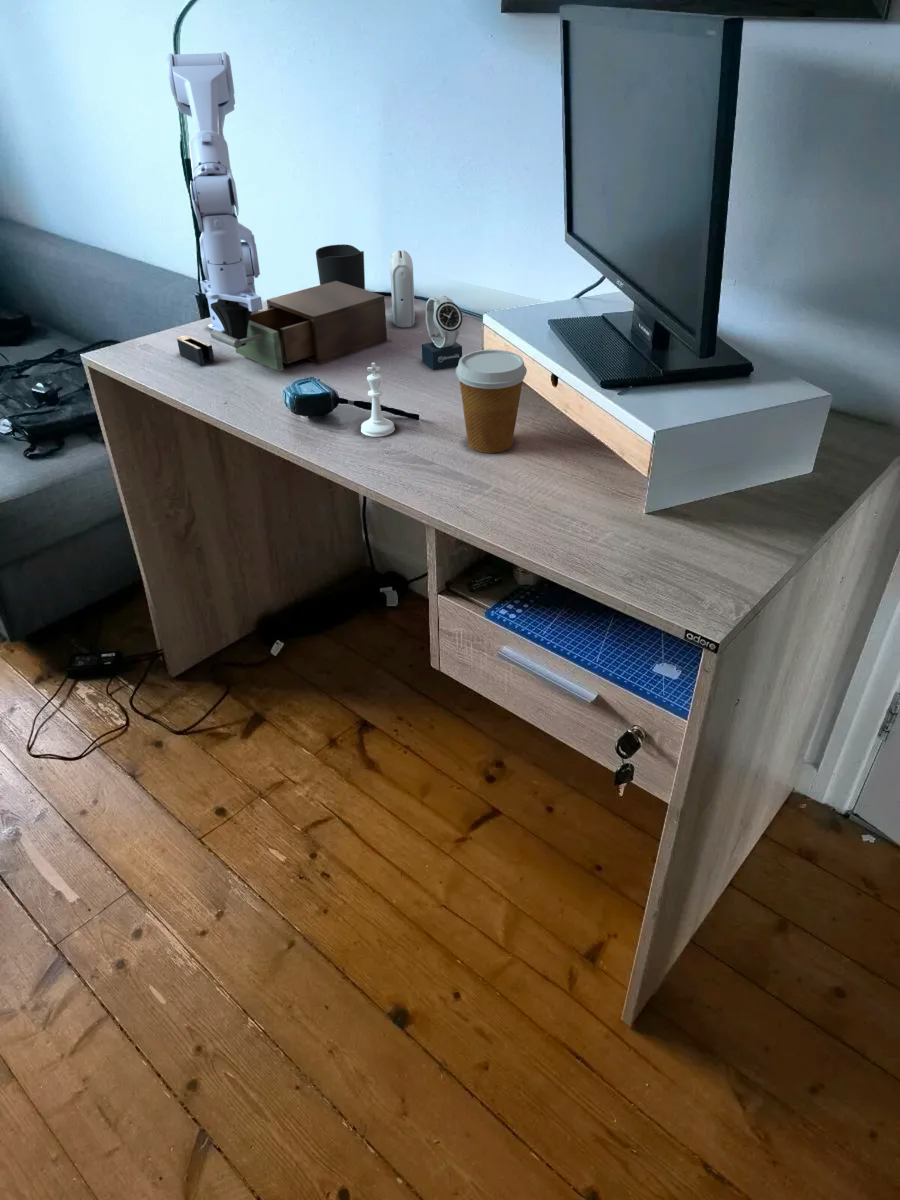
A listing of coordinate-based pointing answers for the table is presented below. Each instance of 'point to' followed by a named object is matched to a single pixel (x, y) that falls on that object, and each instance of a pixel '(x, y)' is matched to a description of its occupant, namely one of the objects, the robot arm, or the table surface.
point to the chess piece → (376, 409)
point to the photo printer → (402, 289)
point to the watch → (442, 333)
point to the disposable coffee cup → (490, 397)
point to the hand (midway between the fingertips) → (238, 345)
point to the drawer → (273, 338)
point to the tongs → (195, 350)
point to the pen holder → (341, 265)
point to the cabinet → (338, 317)
